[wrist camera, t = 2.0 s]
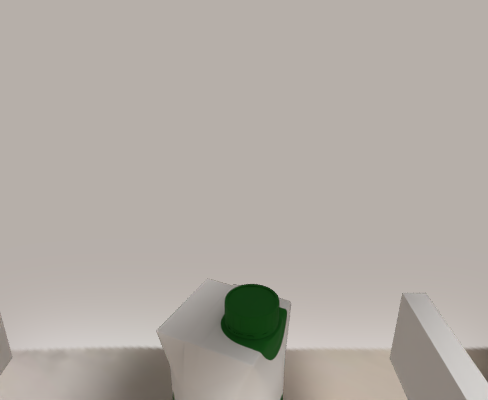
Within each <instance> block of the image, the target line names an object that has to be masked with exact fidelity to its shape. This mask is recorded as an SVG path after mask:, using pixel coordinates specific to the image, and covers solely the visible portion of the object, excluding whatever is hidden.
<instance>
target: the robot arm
mask: <svg viewBox="0 0 488 400" xmlns="http://www.w3.org/2000/svg"><path fill="white" fill-rule="evenodd" d="M11 359H12V354H11V350H10V347H9V343H8V339H7V336H6V332H5V329H4V325H3V322H2V318H1V314H0V375H1V373H2V372H3V370H4V369H5V368H6V366H7V365H8V363H9V362H10V360H11ZM390 360H391V362H392V365H393V367H394V369H395V371H396V374H397V376H398V378H399V380H400V383H401V385H402V387H403V389H404V392H405V394H406V396H407V398H408V400H488V382H487V381H486V379H485V378H484V376H483V375H482V374H481V372H480V371H479V369H478V368H477V366H476V365H475V363H474V362H473V360H472V359H471V358H470V356H469V355H468V353H467V352H466V350H465V349H464V347H463V346H462V345H461V343H460V342H459V340H458V339H457V337H456V336H455V334H454V333H453V332H452V330H451V329H450V327H449V326H448V324H447V323H446V322H445V320H444V319H443V317H442V315H441V314H440V313H439V311H438V310H437V308H436V307H435V305H434V304H433V302H432V301H431V299H430V298H429V297H428V295H427V294H426V293H402V298H401V303H400V308H399V314H398V319H397V324H396V329H395V334H394V339H393V344H392V349H391V354H390Z"/></svg>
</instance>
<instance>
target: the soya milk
mask: <svg viewBox="0 0 488 400" xmlns="http://www.w3.org/2000/svg"><path fill="white" fill-rule="evenodd" d="M290 309H291V302H290V301H287V300H284V299H281V298H278V295H277V294H276V293H275V292H274V291H273V290H272V289H270V288H268V287H266V286H262V285H258V284H246V285H241V286H240V285H236V284H233V285H229V284H226V283H222V282H219V281H215V280H212V279H207V280H206V281H205V282H204V283H203V284H202V285H201V286H200V287H199V288H198V289H197V290H196V291H195V292H194V293H193V294H192V295H191V296H190V297H189V298H188V299H187V300H186V301H185V302H184V303H183V304H182V305H181V306H180V307H179V308H178V309H177V310H176V311H175V312H174V313H173V314H172V315H171V316H170V317H169V318H168V319H167V320H166V321H165V322H164V323H163V324H162V326H160V327H159V329H158V330H157V331H156V332H157V334H158V337H159V339H160V341H161V344H162V347H163V349H164V352H165V355H166V357H167V360H168V362H169V365H170V371H171V382H172V393H173V400H283V384H284V366H285V353H286V343H287V335H288V326H289V318H290Z"/></svg>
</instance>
